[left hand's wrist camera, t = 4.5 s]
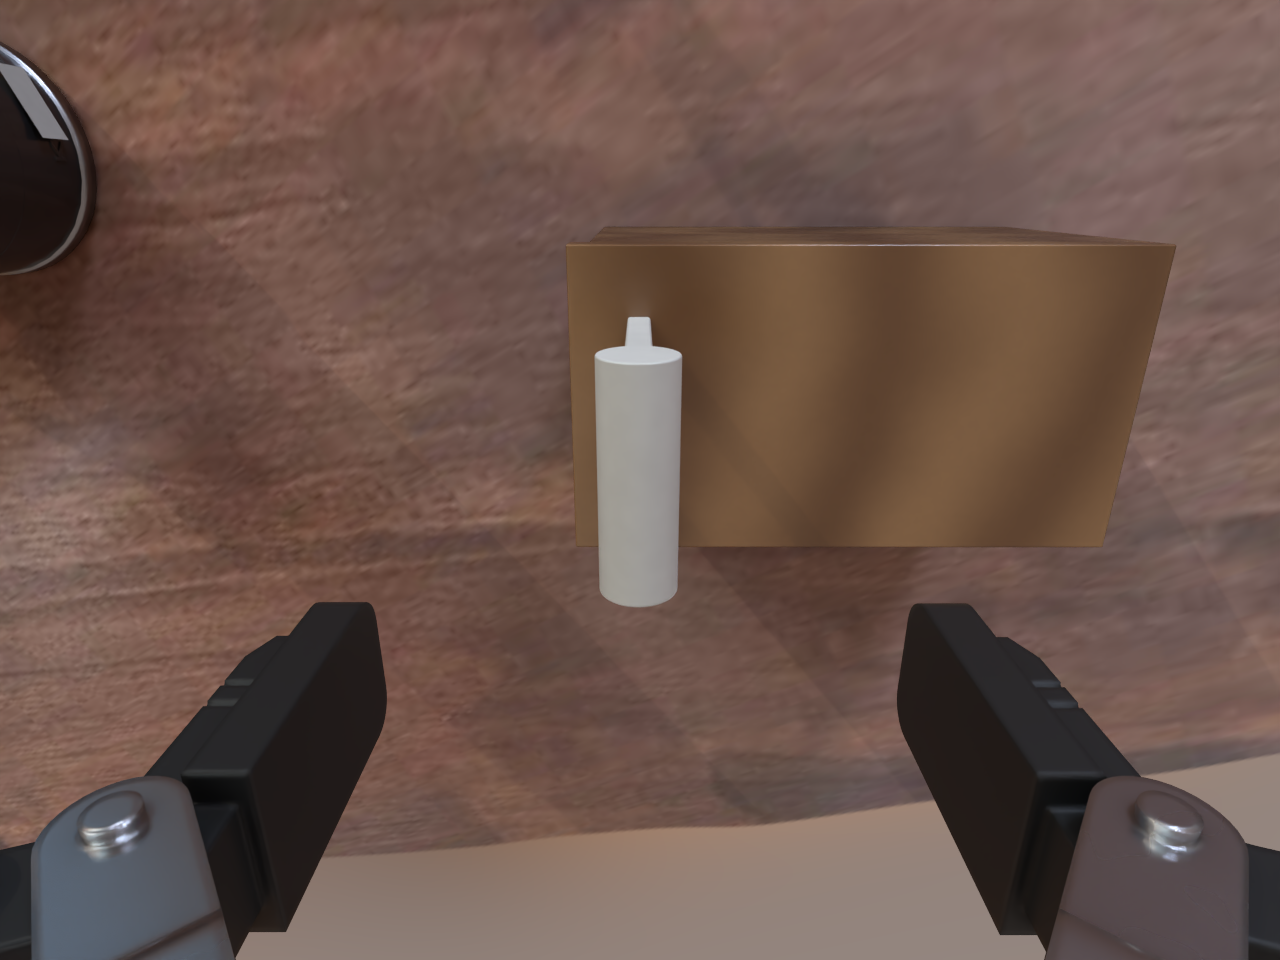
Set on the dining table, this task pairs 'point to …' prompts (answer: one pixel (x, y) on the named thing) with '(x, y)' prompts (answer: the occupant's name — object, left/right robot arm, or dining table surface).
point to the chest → (839, 234)
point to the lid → (850, 395)
